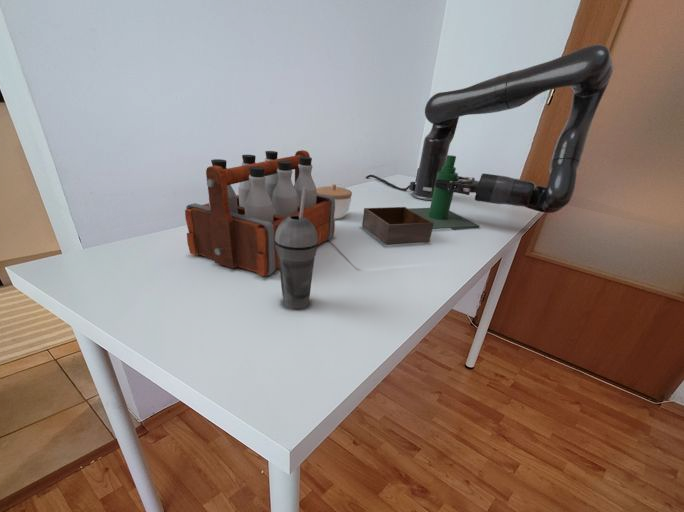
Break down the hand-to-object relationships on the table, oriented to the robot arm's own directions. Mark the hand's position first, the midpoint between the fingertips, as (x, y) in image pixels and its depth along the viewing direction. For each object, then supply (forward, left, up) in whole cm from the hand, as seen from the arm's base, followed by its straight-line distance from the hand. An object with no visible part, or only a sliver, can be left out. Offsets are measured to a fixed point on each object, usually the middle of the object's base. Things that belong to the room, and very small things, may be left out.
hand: (437, 181), depth 111 cm
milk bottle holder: (+16, -56, -11) cm, 59 cm away
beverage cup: (+45, -57, -11) cm, 73 cm away
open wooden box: (+14, -20, -11) cm, 27 cm away
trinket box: (-4, -32, -11) cm, 34 cm away
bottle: (+2, +2, -10) cm, 11 cm away
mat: (+2, +2, -11) cm, 11 cm away
